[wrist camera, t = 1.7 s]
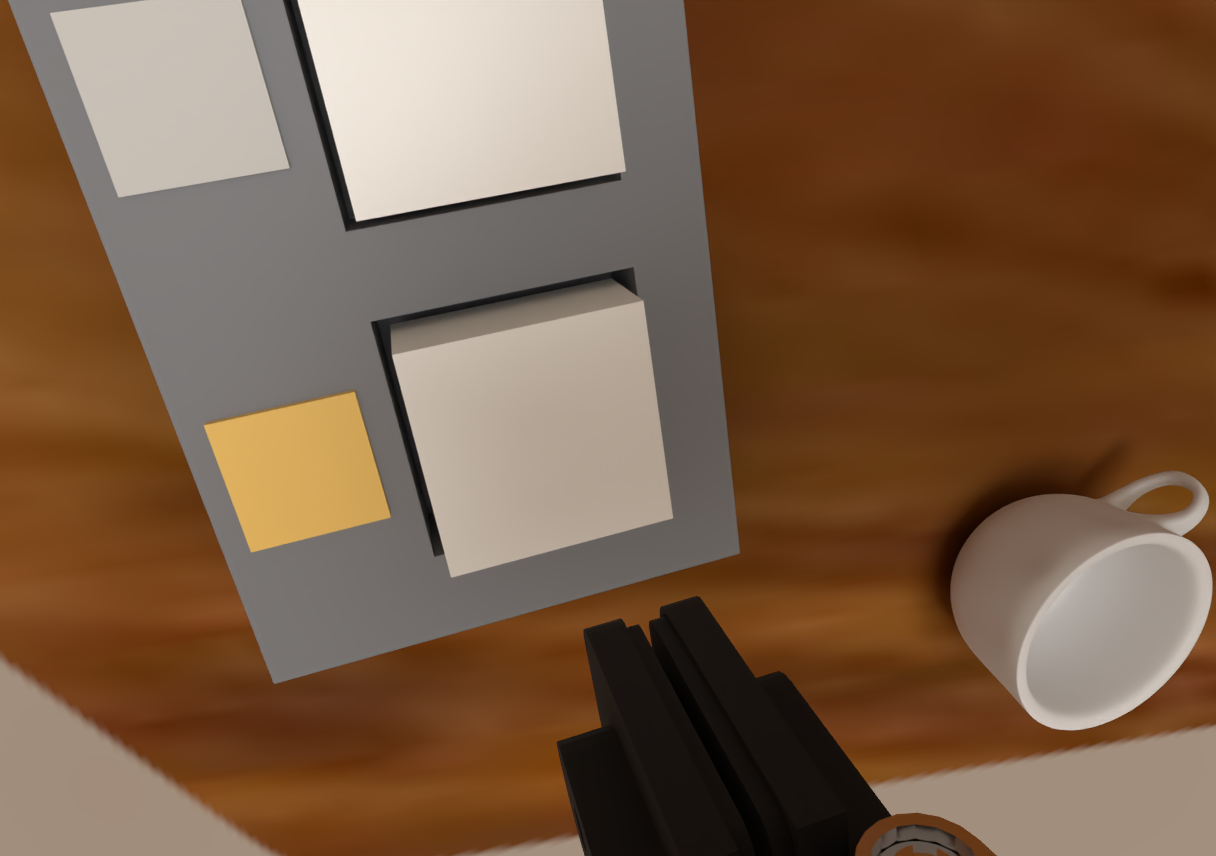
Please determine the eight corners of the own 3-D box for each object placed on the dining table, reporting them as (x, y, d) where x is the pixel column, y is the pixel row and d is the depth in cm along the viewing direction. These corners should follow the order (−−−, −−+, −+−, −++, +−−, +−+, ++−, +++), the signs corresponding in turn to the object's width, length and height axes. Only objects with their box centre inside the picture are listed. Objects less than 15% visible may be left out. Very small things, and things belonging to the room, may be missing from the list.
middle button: (553, -106, 19) (583, -144, 16) (594, 164, 21) (625, 171, 18) (285, -74, 18) (268, -108, 15) (359, 207, 20) (356, 221, 17)
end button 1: (611, 278, 22) (643, 300, 20) (640, 473, 25) (673, 518, 22) (390, 324, 21) (392, 355, 19) (442, 524, 24) (451, 577, 21)
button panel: (550, -792, 16) (586, -986, 14) (705, 511, 28) (742, 556, 25) (-248, -819, 14) (-411, -1062, 11) (285, 623, 26) (273, 688, 23)
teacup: (986, 672, 34) (1085, 763, 30) (882, 581, 31) (974, 667, 26) (1158, 496, 34) (1291, 561, 29) (1069, 385, 30) (1202, 437, 25)
